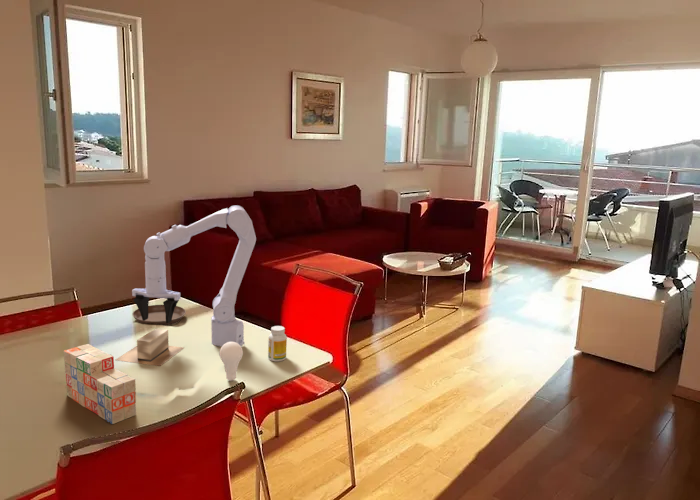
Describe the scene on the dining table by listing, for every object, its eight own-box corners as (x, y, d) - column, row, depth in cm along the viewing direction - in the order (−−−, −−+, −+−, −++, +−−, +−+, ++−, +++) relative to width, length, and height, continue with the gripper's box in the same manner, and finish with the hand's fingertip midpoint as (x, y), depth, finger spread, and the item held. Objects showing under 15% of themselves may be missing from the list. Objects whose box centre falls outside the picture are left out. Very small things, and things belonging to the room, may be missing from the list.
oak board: (184, 352, 169) (184, 347, 169) (160, 371, 156) (160, 365, 155) (142, 346, 172) (142, 342, 172) (115, 364, 158) (114, 359, 158)
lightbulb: (246, 378, 154) (247, 340, 151) (235, 387, 148) (235, 348, 146) (227, 374, 156) (227, 336, 153) (215, 383, 150) (214, 344, 148)
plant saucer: (196, 317, 201) (196, 309, 201) (162, 332, 185) (162, 323, 184) (157, 309, 208) (156, 301, 207) (121, 323, 192) (120, 315, 191)
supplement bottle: (264, 359, 167) (264, 328, 165) (275, 353, 171) (275, 323, 169) (279, 363, 164) (280, 332, 162) (289, 357, 169) (290, 327, 167)
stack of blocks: (137, 415, 132) (135, 366, 129) (112, 425, 127) (109, 375, 125) (90, 387, 145) (88, 342, 142) (66, 395, 140) (63, 349, 137)
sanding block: (168, 348, 167) (168, 329, 166) (150, 361, 158) (149, 341, 157) (156, 347, 168) (155, 328, 167) (137, 360, 159) (136, 340, 157)
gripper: (125, 278, 163) (127, 322, 165) (171, 282, 160) (173, 327, 163) (138, 272, 169) (140, 315, 172) (183, 276, 167) (184, 319, 170)
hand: (157, 320), depth 168 cm, fingers open, 7 cm apart
